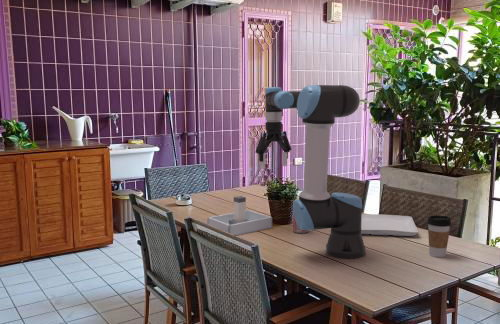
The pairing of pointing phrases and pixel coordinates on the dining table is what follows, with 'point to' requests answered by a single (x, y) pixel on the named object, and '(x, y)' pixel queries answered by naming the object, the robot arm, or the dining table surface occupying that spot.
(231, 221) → the box
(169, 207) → the dining table surface
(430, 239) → the coffee cup
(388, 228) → the square plate
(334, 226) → the robot arm
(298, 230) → the soda can
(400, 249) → the dining table surface
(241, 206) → the pepper shaker
